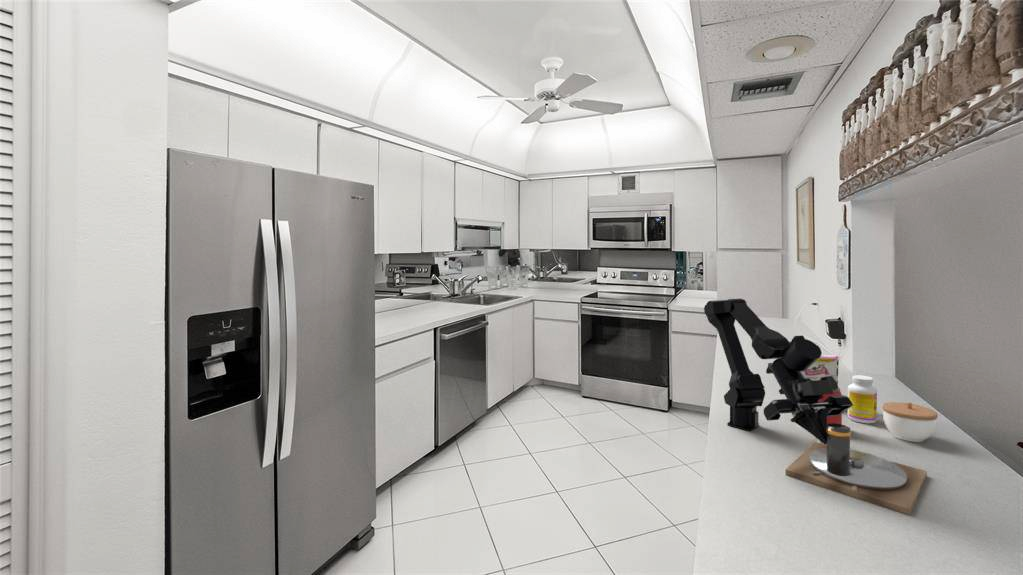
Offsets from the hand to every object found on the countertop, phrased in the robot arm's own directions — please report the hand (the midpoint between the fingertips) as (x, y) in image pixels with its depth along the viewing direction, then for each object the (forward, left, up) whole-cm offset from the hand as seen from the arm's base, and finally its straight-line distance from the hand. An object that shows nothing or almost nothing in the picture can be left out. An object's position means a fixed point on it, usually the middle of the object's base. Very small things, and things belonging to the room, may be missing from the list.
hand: (827, 443), depth 95 cm
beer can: (-8, +31, -8) cm, 33 cm away
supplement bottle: (-3, +45, -8) cm, 46 cm away
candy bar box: (-16, +51, -8) cm, 54 cm away
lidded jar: (+8, +39, -8) cm, 41 cm away
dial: (+4, +5, -6) cm, 9 cm away
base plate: (+4, +6, -8) cm, 10 cm away
